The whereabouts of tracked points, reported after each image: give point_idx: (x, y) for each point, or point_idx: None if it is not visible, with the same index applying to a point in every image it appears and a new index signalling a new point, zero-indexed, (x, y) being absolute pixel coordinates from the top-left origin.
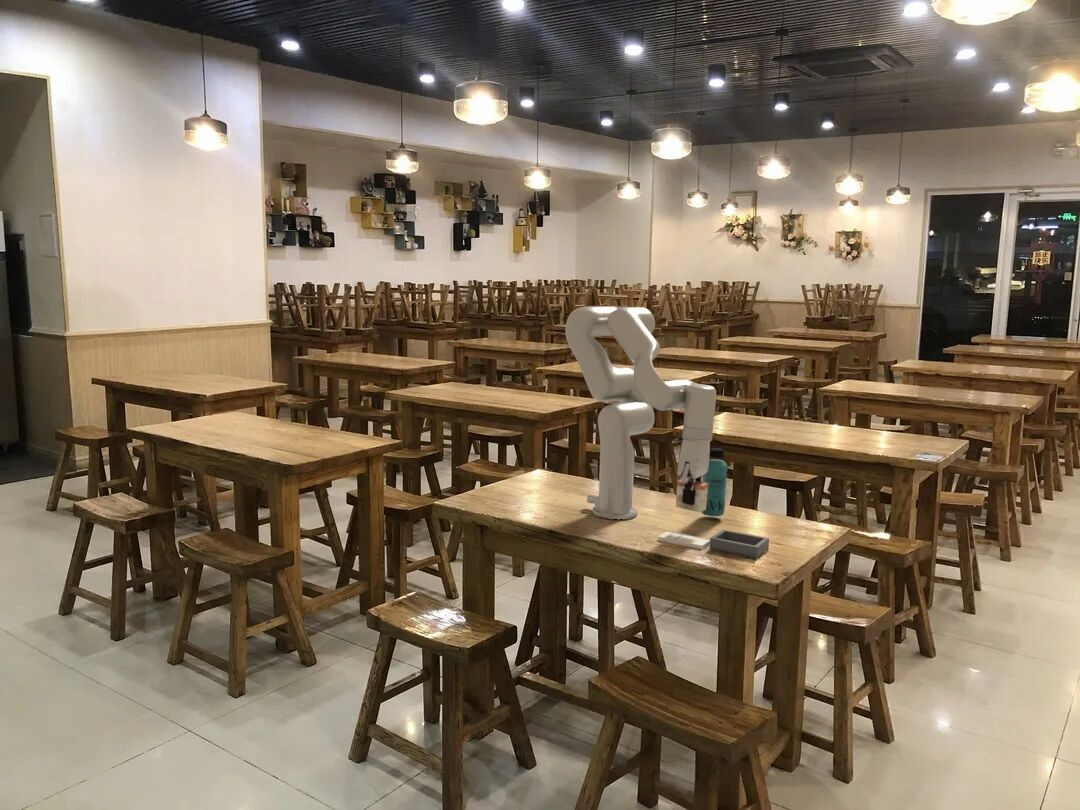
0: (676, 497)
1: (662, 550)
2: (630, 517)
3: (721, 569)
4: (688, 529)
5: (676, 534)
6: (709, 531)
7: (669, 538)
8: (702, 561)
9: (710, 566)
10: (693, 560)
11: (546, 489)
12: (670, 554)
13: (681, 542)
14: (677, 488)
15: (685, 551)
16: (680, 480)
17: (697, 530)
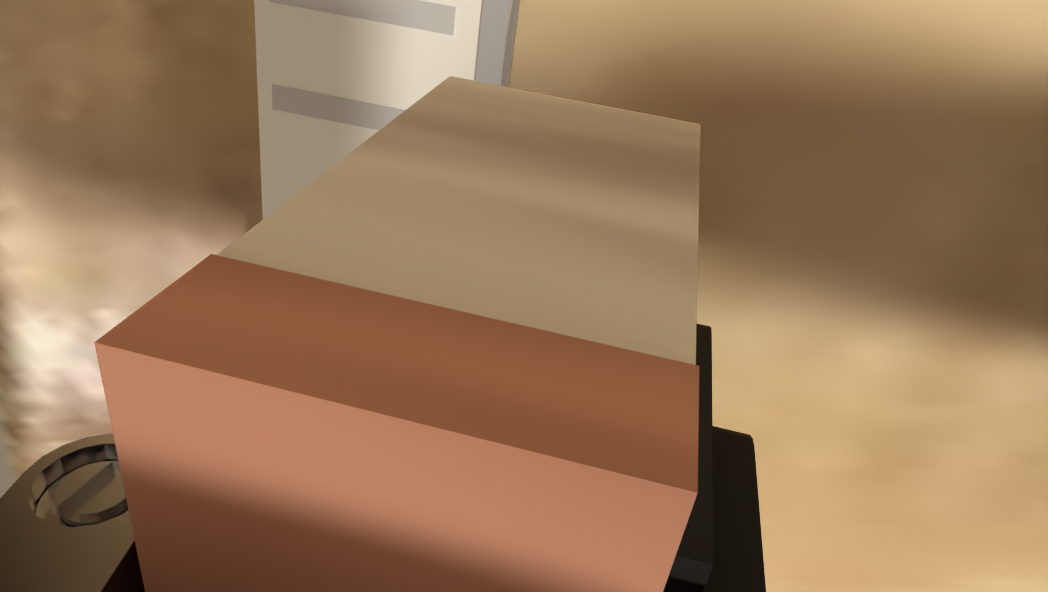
0: (377, 134)
1: (47, 29)
2: None
3: (25, 467)
4: (851, 111)
5: (442, 68)
6: (851, 324)
7: (269, 32)
8: (61, 359)
9: (20, 410)
10: (33, 304)
11: None
12: (15, 122)
13: (264, 165)
14: (274, 227)
15: (162, 219)
16: (258, 435)
17: (845, 211)
